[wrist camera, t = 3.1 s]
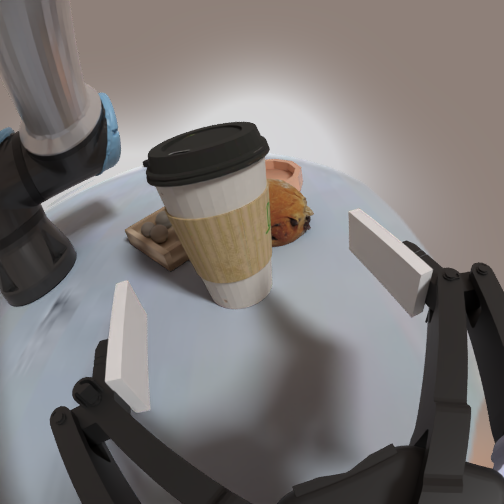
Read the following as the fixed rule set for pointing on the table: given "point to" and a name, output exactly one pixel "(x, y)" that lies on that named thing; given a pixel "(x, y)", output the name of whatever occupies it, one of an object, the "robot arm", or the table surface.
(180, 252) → the pebble tray
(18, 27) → the robot arm
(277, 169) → the dish
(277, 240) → the bread roll
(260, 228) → the coffee cup
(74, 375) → the table surface
